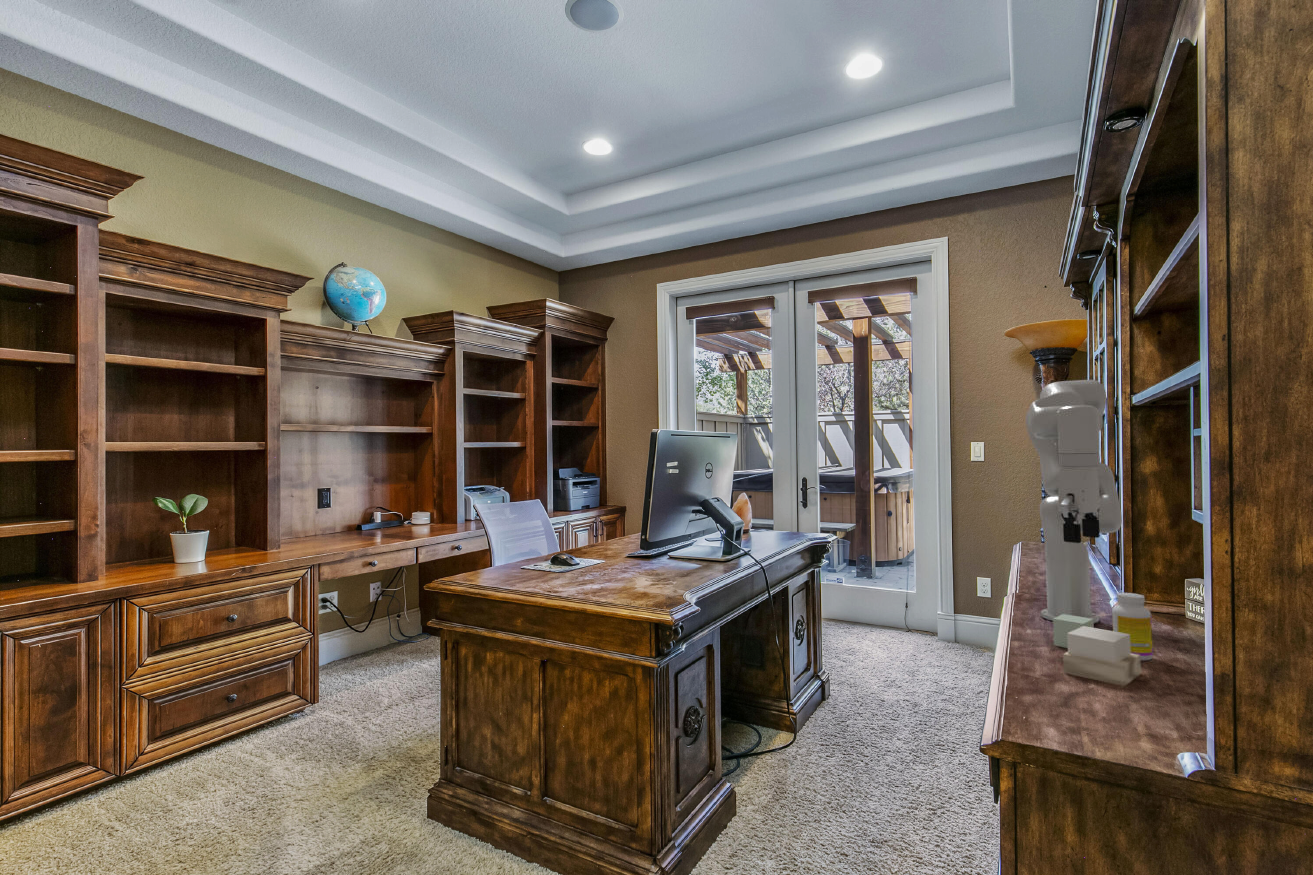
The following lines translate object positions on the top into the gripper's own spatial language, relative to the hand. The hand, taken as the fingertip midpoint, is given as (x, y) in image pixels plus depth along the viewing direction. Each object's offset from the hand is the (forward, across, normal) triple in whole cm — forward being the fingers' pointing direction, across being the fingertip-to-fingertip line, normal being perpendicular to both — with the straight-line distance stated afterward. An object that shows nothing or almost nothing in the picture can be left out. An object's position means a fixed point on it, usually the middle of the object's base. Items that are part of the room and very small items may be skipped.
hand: (1081, 539), depth 142 cm
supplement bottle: (+24, -1, +8) cm, 25 cm away
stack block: (+24, -1, -3) cm, 24 cm away
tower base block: (+24, +15, +8) cm, 29 cm away
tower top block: (+20, +15, +8) cm, 26 cm away
